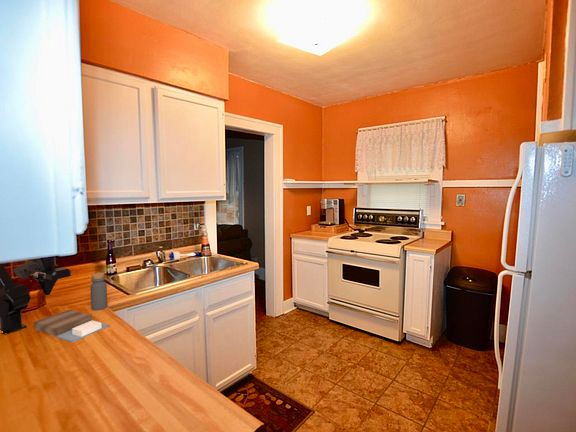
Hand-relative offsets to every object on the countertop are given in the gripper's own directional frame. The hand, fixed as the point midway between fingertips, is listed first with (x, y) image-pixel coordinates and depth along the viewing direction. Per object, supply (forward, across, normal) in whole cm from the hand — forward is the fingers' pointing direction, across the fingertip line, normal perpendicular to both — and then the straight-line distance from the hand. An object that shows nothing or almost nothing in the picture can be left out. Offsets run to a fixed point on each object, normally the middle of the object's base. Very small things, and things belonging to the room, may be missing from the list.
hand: (47, 295), depth 106 cm
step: (+13, +2, +4) cm, 14 cm away
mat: (+13, +13, +4) cm, 19 cm away
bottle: (+13, -3, +21) cm, 25 cm away
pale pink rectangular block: (+10, +15, +4) cm, 18 cm away
